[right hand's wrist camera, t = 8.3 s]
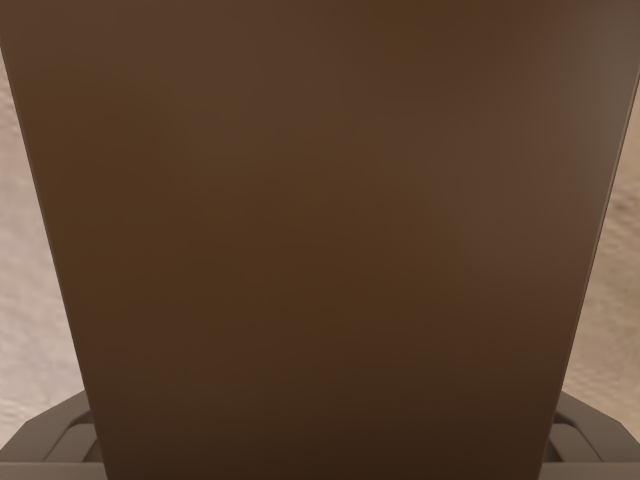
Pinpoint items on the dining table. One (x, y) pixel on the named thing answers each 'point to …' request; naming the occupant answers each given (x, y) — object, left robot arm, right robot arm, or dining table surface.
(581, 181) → the bar
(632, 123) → the dining table surface
